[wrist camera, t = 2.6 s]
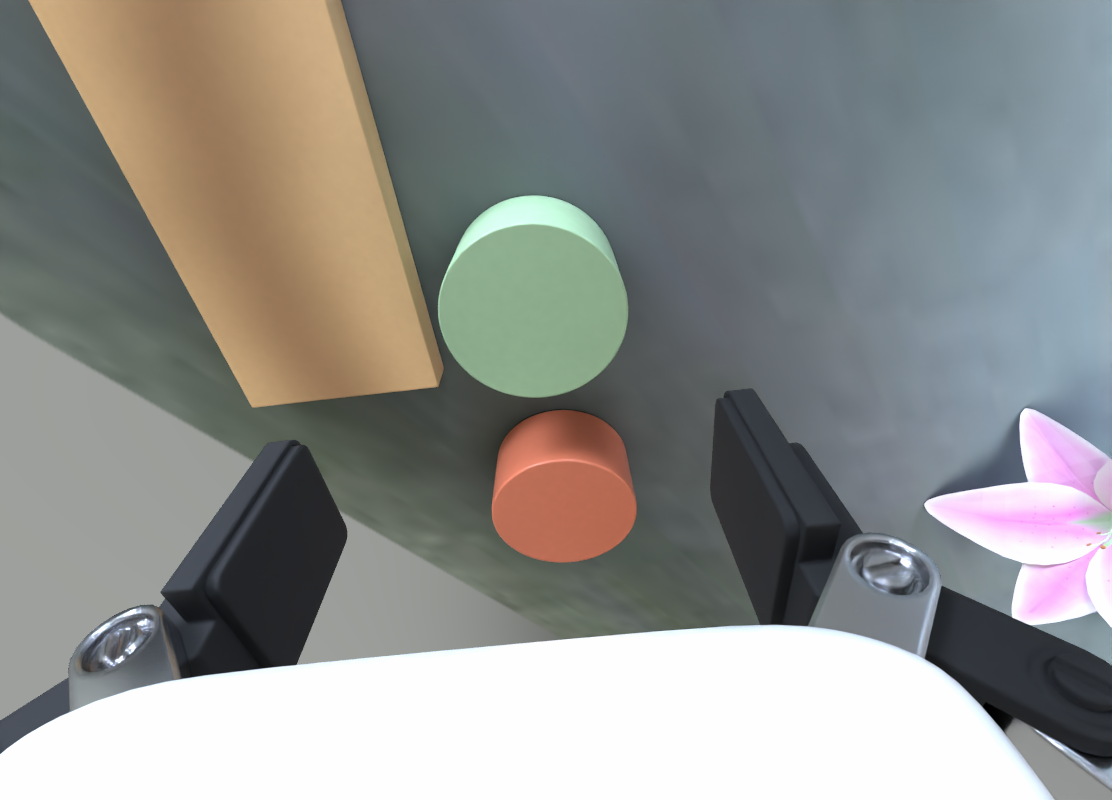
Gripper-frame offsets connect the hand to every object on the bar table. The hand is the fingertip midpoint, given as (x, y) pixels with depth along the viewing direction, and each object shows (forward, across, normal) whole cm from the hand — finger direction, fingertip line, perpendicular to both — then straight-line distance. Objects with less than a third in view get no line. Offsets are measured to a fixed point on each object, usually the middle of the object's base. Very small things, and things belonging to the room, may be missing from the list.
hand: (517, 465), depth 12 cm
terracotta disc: (+11, 0, +9) cm, 14 cm away
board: (+10, +8, -7) cm, 15 cm away
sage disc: (+10, 0, -1) cm, 11 cm away
